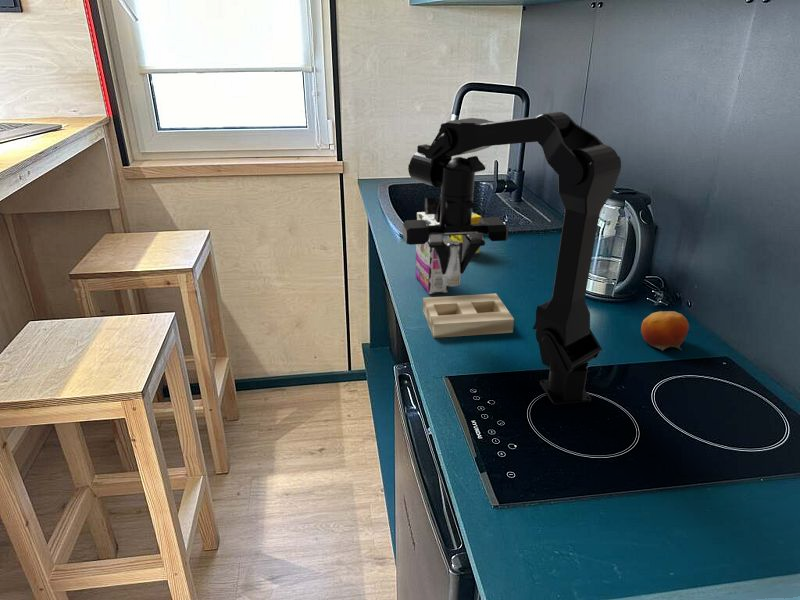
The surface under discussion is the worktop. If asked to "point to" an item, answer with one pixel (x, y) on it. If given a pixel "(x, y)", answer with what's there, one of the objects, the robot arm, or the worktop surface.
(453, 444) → the worktop surface
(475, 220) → the supplement box
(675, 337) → the fruit
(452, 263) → the pin
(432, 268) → the candy bar box
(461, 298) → the socket block
